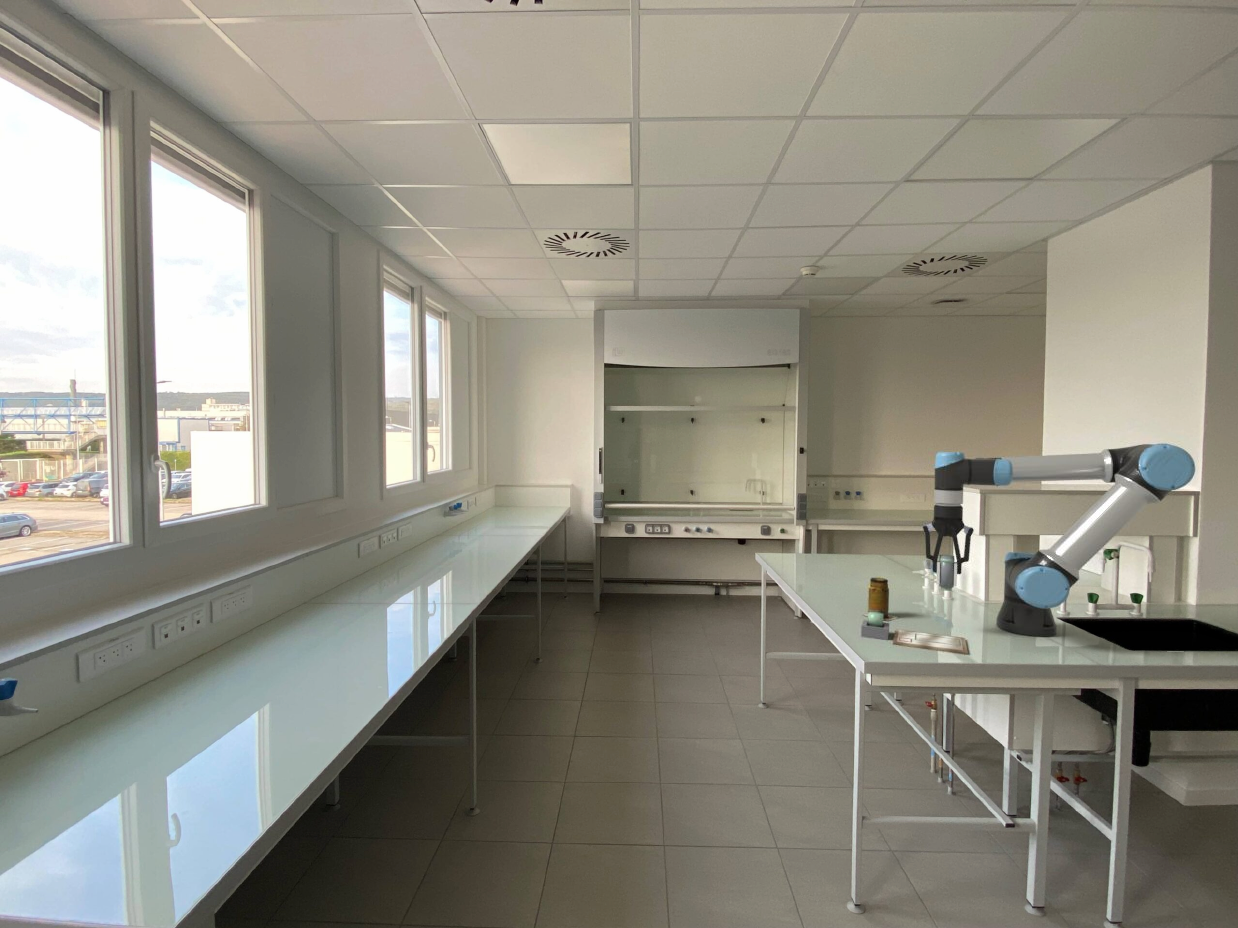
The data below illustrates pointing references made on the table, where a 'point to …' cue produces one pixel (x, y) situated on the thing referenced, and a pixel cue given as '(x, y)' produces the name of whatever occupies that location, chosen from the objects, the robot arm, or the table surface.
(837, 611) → the table surface
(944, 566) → the marker
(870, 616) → the button
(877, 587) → the condiment
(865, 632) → the button box
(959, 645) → the framed board
